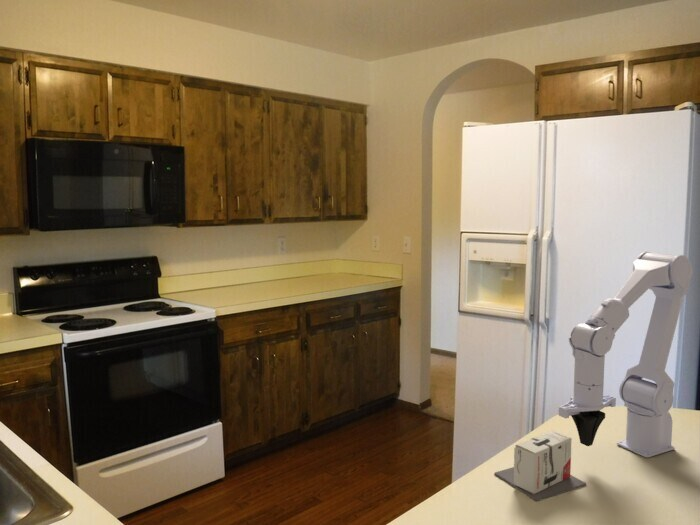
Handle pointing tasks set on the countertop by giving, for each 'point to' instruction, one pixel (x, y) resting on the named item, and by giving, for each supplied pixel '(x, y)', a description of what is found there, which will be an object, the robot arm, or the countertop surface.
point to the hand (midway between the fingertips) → (586, 444)
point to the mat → (546, 493)
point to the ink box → (542, 461)
